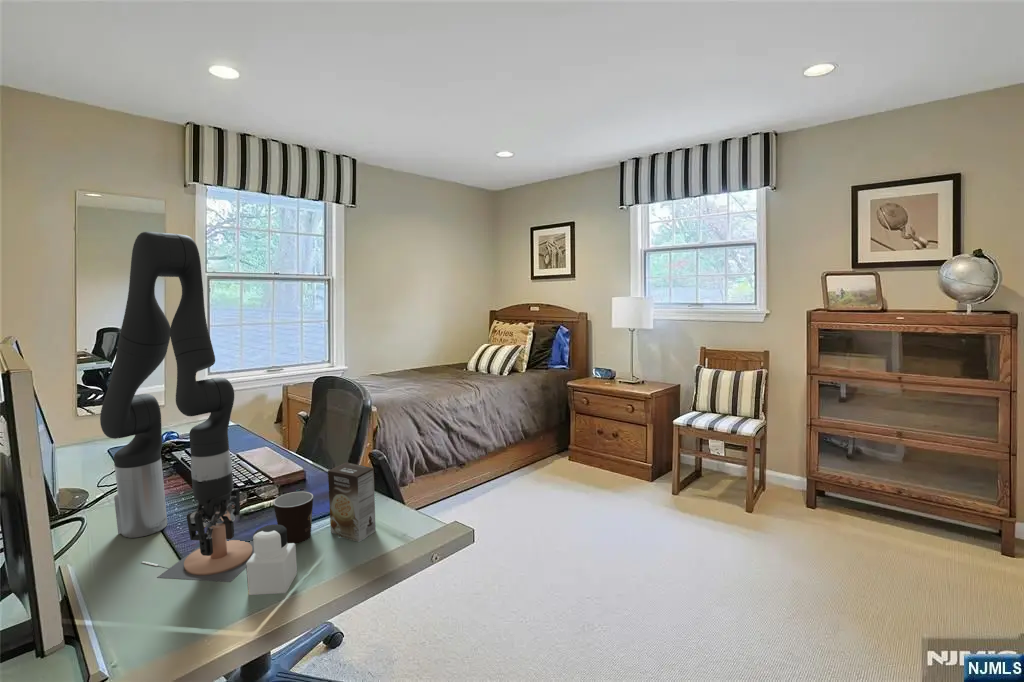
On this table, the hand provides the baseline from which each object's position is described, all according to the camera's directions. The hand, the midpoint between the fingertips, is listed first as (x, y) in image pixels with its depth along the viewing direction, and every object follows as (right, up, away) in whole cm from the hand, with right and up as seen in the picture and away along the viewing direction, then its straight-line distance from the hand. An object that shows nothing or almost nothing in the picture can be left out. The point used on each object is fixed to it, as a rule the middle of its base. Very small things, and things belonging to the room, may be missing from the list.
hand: (218, 546), depth 115 cm
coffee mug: (+13, -2, +11) cm, 17 cm away
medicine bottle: (+16, -5, -9) cm, 19 cm away
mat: (0, -3, 0) cm, 3 cm away
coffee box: (+26, -2, +13) cm, 29 cm away
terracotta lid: (0, -3, 0) cm, 3 cm away
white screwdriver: (-8, -5, -3) cm, 10 cm away
